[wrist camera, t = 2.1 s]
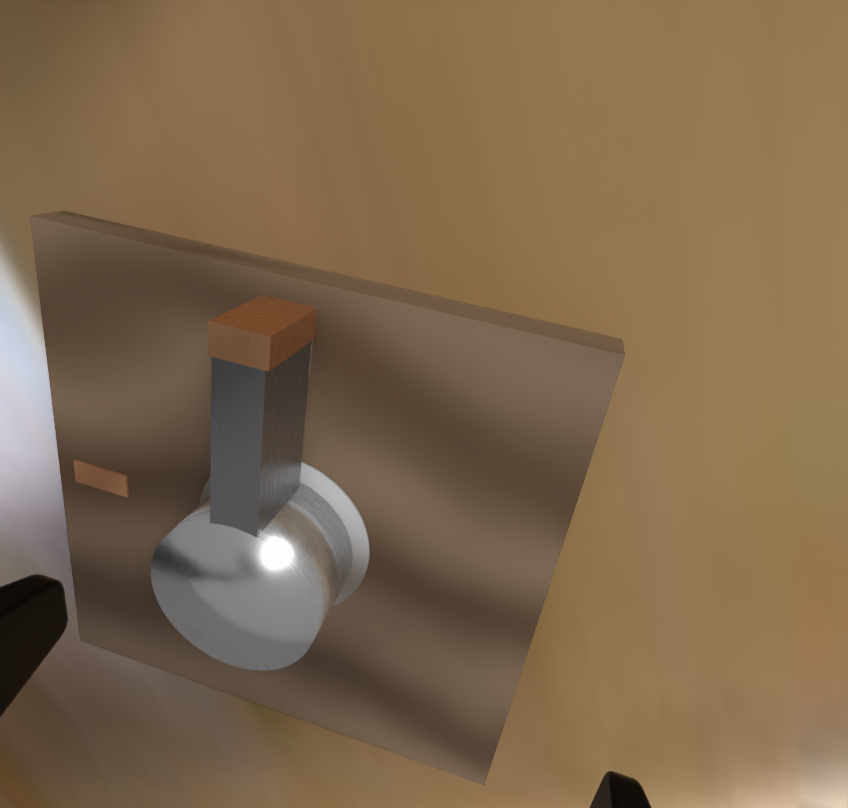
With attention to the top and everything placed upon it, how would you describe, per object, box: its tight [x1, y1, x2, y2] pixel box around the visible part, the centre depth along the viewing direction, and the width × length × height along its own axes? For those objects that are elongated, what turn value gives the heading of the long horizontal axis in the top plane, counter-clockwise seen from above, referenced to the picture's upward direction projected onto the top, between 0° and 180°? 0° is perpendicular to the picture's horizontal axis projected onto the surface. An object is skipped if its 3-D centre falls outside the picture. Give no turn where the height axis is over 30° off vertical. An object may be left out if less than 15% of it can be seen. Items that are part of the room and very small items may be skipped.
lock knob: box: [151, 295, 353, 671], centre depth 20 cm, size 12×6×3 cm, turn 170°
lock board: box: [30, 211, 625, 785], centre depth 24 cm, size 20×20×2 cm
